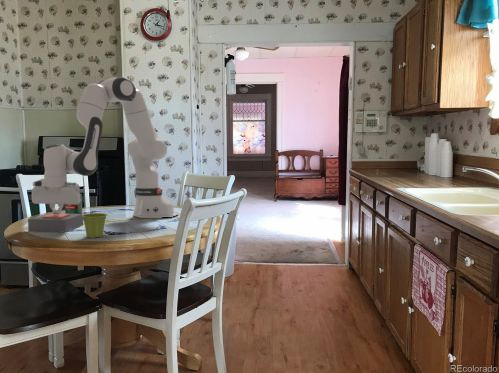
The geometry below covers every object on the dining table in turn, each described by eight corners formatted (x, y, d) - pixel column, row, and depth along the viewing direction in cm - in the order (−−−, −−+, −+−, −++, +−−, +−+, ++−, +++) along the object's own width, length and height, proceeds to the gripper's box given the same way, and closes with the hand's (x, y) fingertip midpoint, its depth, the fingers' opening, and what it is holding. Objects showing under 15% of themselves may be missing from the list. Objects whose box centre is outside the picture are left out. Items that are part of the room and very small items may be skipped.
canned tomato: (82, 215, 226) (82, 193, 225) (82, 217, 218) (81, 195, 217) (65, 215, 223) (65, 193, 222) (64, 218, 216) (63, 195, 215)
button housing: (83, 225, 200) (82, 213, 199) (65, 232, 184) (65, 220, 183) (48, 223, 201) (48, 212, 200) (28, 231, 185) (28, 219, 185)
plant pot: (87, 233, 182) (87, 212, 181) (110, 234, 181) (110, 213, 180) (78, 238, 172) (77, 216, 171) (102, 239, 172) (102, 217, 171)
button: (70, 223, 196) (69, 214, 196) (61, 227, 188) (60, 217, 188) (52, 223, 197) (52, 213, 196) (42, 226, 189) (42, 216, 188)
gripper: (82, 181, 193) (83, 213, 194) (37, 181, 194) (38, 212, 196) (75, 183, 187) (76, 216, 188) (28, 182, 188) (30, 214, 190)
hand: (56, 214), depth 192 cm, fingers closed
